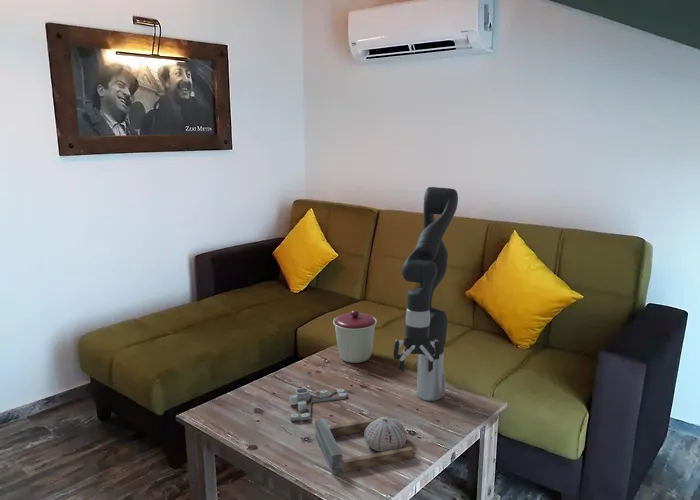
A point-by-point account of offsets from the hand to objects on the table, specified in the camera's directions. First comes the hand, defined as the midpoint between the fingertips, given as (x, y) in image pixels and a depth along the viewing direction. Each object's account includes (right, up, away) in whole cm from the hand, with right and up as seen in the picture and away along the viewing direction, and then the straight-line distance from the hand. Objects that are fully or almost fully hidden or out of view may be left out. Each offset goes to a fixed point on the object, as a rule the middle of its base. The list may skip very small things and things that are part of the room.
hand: (415, 371), depth 181 cm
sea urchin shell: (-10, -22, -3) cm, 24 cm away
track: (-17, -22, -6) cm, 29 cm away
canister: (-19, -7, +58) cm, 61 cm away
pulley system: (-34, -17, +22) cm, 44 cm away
